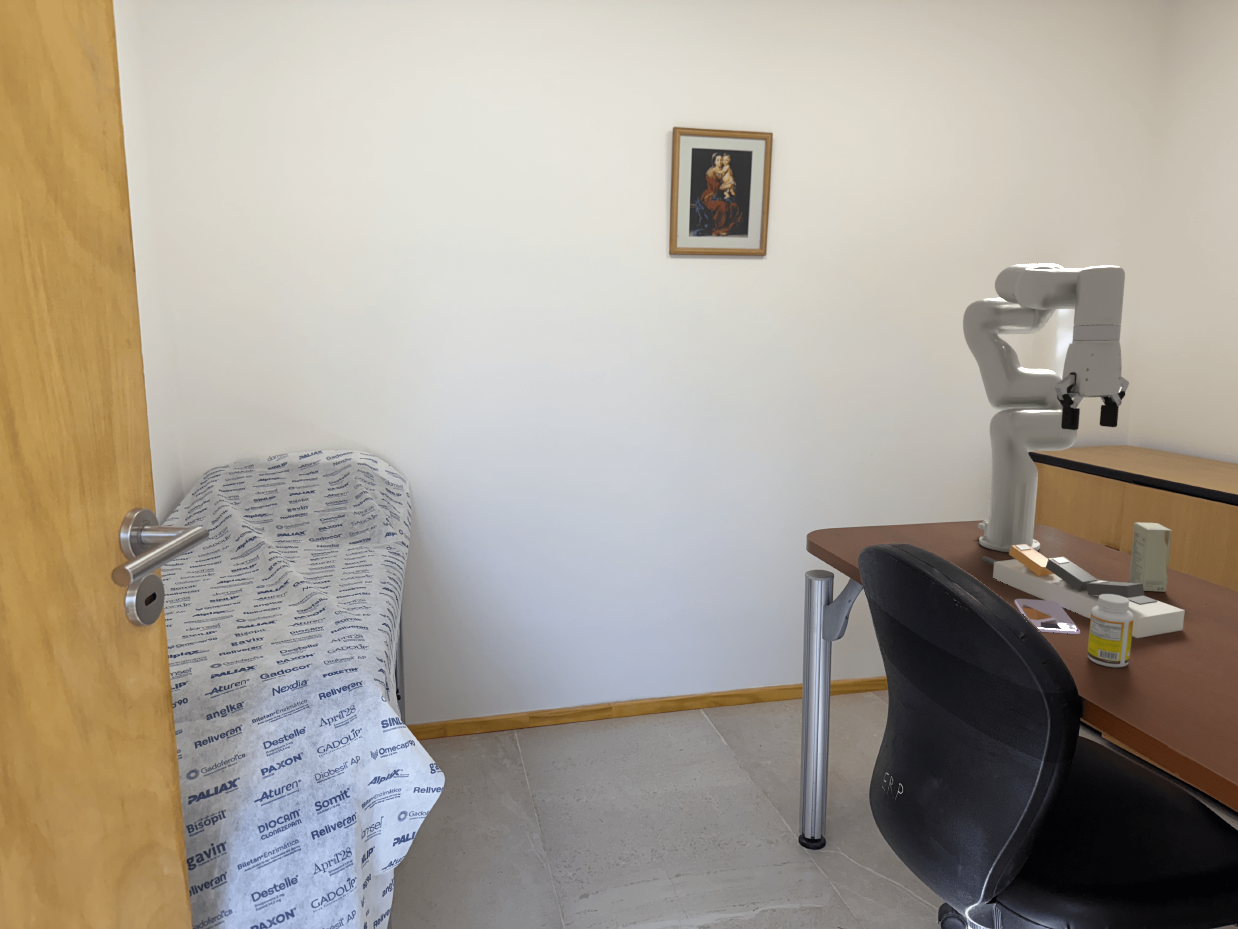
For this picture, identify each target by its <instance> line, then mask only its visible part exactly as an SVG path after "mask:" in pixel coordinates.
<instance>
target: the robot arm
mask: <svg viewBox="0 0 1238 929" xmlns="http://www.w3.org/2000/svg"><path fill="white" fill-rule="evenodd" d="M1125 280H1126V273H1125V270H1124V268H1123V267H1121V266H1118V265H1100V266H1099V265H1098V266H1097V265H1096V266H1089V267H1085V268H1064V267H1063V266H1062V265H1059V264H1056V263H1038V264H1037V263H1029V264H1028V263H1027V264H1026V263H1025V264H1024V263H1023V264H1021V263H1020V264H1014V265H1010V266H1006V268H1004V269H1003V270H1002V271H1001V272H999V274H998V275H997V277H996V278H995V281H994V289H995V292H996V294H997V295H998V296H999V297H989V298H982V299H979V300H975V301H973V302H971V303H970V304H968V306H967V307H966V308H965V311H964V313H963V319H962V326H963V327H962V329H963V335H964V339H965V342H966V345H967V347H968V349H969V350H970V353H971V354H972V355H973V358H974V359H975V361H976V362H977V365H978V368H979V372H980V376H981V379H982V383H983V387H984V391H985V394H986V397H987V400H988V402H989V405H990V406H991V407H992V409H993V408H994V409H995V410H998V412H997V413H994V415H993V416H992V417H991V420H990V423H989V437H990V447H991V448H990V449H991V471H990V473H991V474H990V486H989V501H988V513H987V514H988V515H987V519H983V520H982V522H979V523H978V524H977V528H978V529H980V530H983V535H981V536H980V537H979V540H978V543H979V544H980V545H981V546H982V547H984V548H986V549H990V550H991V551H992V550H993V551H997V552H1002V553H1009V552H1010V549H1011V546H1012V545H1020V544H1027V545H1028V546H1030V547H1031V548H1033V549H1034V550H1036V551H1037V552H1038V551H1039V550H1040V548H1041V543H1040V542H1039V541H1038V540H1036V539H1034V529H1035V516H1036V507H1037V505H1036V503H1037V496H1038V495H1037V493H1038V483H1039V482H1038V481H1039V480H1038V479H1039V471H1038V467H1037V465H1036V463H1035V462H1034V461H1033V459H1032V458H1031V456H1030V455H1029V453H1030V452H1043V451H1044V452H1048V451H1050V452H1053V451H1054V452H1056V451H1063V450H1064V451H1065V450H1067V449H1069V448H1071V447H1072V446H1073V445H1074V444H1075V442H1076V441H1077V436H1078V431H1079V430H1078V429H1079V426H1080V425H1079V424H1080V414H1081V412H1080V411H1081V408H1080V407H1079V408H1078V406H1079V405H1080V403H1081V402H1082V400H1083V399H1084V398H1100V399H1101V400H1102V403H1103V404H1101V405H1100V413H1099V414H1100V415H1099V426H1100V427H1107V428H1117V426H1118V419H1119V408H1120V406H1121V405H1122V400H1123V399H1124V398H1125V396H1126V392H1127V390H1128V387H1129V385H1130V382H1129V381H1128V380H1127V379H1125V377H1122V349H1121V347H1122V346H1121V343H1120V339H1121V329H1122V319H1123V318H1122V317H1123V305H1124V294H1125V291H1124V290H1125V282H1126V281H1125ZM1071 309H1072V310H1074V314H1073V315H1074V316H1073V328H1072V330H1073V331H1072V343H1069V345H1068V348H1067V352H1066V355H1065V359H1064V364H1063V369H1062V377H1061V376H1060V375H1059V374H1058V373H1057V372H1055V371H1053V370H1050V369H1045V368H1025V367H1023V366H1022V365H1021V363H1020V361H1019V357H1018V354H1017V352H1016V350H1015V349H1014V348H1013V347H1012V346H1011V345H1010V344H1009V342H1007V341H1005V339H1003V338H1002V337H1000V336H999V335H1031V334H1034V333H1035V334H1036V333H1038V332H1040V331H1041V330H1042V329H1043V328H1044V327H1046V324H1047V323H1048V322H1049V320H1050V319H1051V317H1052V316H1053V314H1054V313H1055V311H1056V310H1071Z"/></svg>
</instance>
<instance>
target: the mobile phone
mask: <svg viewBox="0 0 1238 929" xmlns="http://www.w3.org/2000/svg"><path fill="white" fill-rule="evenodd" d="M1014 603H1015V606H1016V607H1017V609H1018V610H1019V611H1020V613H1021V615H1022V614H1024V616H1026V617H1027V618H1028V620H1030V621H1031V622H1032V623H1033V624H1034V625H1035V626H1036V627H1037V628H1038V629H1039V630H1040V631H1041V632H1042V633H1053V632H1054V634H1055V633H1056V634H1067V633H1068V635H1070V634H1071V635H1079V634H1081V630H1080V628H1078V626H1077V625H1076V624H1075V622H1074V621H1073V620H1072V619H1071V617H1070V616H1069V615H1068V613H1067V612H1066V611H1065V608H1063V607H1061V606H1060V604H1059V603H1057V602H1054V601H1046V600H1044V599H1029V598H1016V599H1014ZM1040 631H1039V632H1040Z"/></svg>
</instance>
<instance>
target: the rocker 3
mask: <svg viewBox="0 0 1238 929" xmlns="http://www.w3.org/2000/svg"><path fill="white" fill-rule="evenodd" d="M1086 584H1087V592H1088V595H1098V596H1099V595H1101V594H1114V595H1119V596H1123V597H1125V598H1131V597H1138V596H1145V591H1144V588H1143V583H1131V582H1127V581H1126V582H1125V581H1123V582H1122V581H1109V580H1101V581H1096V582H1091V583H1086Z"/></svg>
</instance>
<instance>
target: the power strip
mask: <svg viewBox="0 0 1238 929" xmlns="http://www.w3.org/2000/svg"><path fill="white" fill-rule="evenodd" d="M981 560H982V562H983V563H986V564H989V565H991V566H993V570H992V571H993V574H992V579H993V578H995V579H997V580H996V581H998V582H1000V581H1001V582H1000V583H1002V582H1003V584H1004V585H1007V584H1008V586H1010V587H1012V588H1015V589H1017V590H1019V591H1022V592H1024V593H1027V594H1029V595H1031V596H1033V597H1034V596H1035V597H1037V598H1039V599H1040V600H1046V601H1054V602H1057V603H1059V604H1060V606H1061V607H1062V608H1063V609H1065V608H1066V610H1068V611H1070V610H1071V612H1073V613H1075V612H1076V614H1077V613H1078V614H1077V615H1080V616H1082V617H1085V618H1088V619H1090V620H1091V610H1092V608H1093V607H1095V606H1098V598H1099V596H1098V595H1088V592H1087V590H1085V591H1078V590H1077V589H1075V588H1074V587H1072V586H1071V585H1069V584H1068V583H1067V582H1065V581H1064V580H1062V579H1061V578H1060V577H1058V576H1057V575H1055V574H1051V575H1044V576H1038V575H1037V574H1036V573H1034V572H1033V571H1031V570H1030V569H1029V568H1027V567H1026V566H1024V565H1023V564H1022V563H1020V562H1019V561H1018V560H1016V559H1015V558H1013V559H1008V560H1007V559H1005V560H996V559H993V558H991V557H987V556H983V557H982V559H981ZM995 579H994V580H995ZM1098 581H1102V580H1101V579H1098ZM1127 599H1128V600H1129V608H1128V610H1129V611H1130V612H1132V614H1133V616H1134V620H1133V630H1132V638H1135V639H1139V638H1140V639H1141V638H1145V637H1151V636H1157V635H1163V634H1168V633H1173V632H1179V631H1180V632H1181V631H1183V629H1184V620H1185V612H1186V611H1185V609H1182V608H1181V607H1180V608H1179V607H1176V606H1175V605H1171V604H1168V603H1165V602H1162V601H1159V600H1156V599H1154V598H1151V597H1149V596H1146V595H1144V596H1138V597H1131V598H1127Z"/></svg>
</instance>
